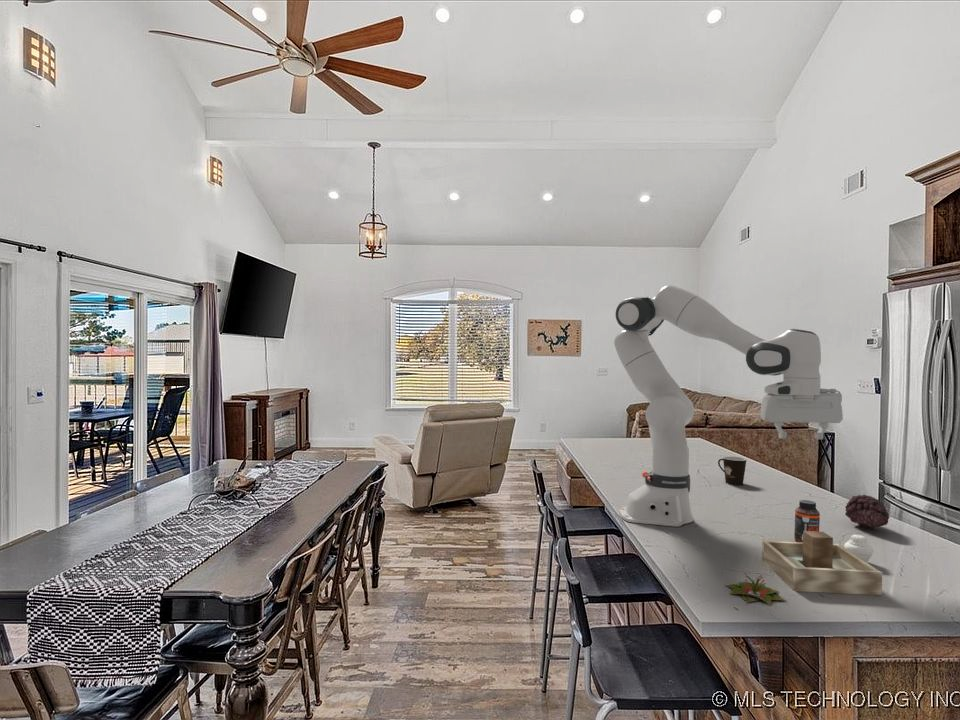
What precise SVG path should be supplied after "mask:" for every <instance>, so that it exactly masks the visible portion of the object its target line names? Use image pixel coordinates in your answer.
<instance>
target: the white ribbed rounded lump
mask: <svg viewBox="0 0 960 720" xmlns="http://www.w3.org/2000/svg"><path fill="white" fill-rule="evenodd" d="M843 548H845V549H846V550H848V551H850V552H851V553H853V554H854V555H856V556H857V557H859V558H860V559H862V560H864V561H865V562H867V563H868V562H869V560H870V559H871V558H872V556H873V554H874V551H875V550H874V548H873V547H872V545H870V543H869V542H868V538H866V537H865V536H864V535H861V534H852V535H851V536H850V538H849V540H848V541H847V542H845V543H844V545H843Z"/></svg>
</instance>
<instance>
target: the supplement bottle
mask: <svg viewBox="0 0 960 720" xmlns="http://www.w3.org/2000/svg"><path fill="white" fill-rule="evenodd" d="M798 503H799V504H798V505H799V506H798V507H796V508H795V510H794V511H795V513H794V515H795V516H794V531H793V532H794V535H793V536H794V540H795V542H803V531H817V532H820V517H821V516H820V515H821V514H820V511H818V509H817V503H816V502H815V501H813V500H809V499H807V500H806V499H801V500H799V502H798Z"/></svg>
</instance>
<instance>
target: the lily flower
mask: <svg viewBox="0 0 960 720" xmlns="http://www.w3.org/2000/svg"><path fill="white" fill-rule="evenodd" d="M748 573H749V574H751V572H750V571H748ZM743 574H744V576H745V577H746V578H748V579H745V580H744V581H738V584H737V583H736V584H735V583H733V584H732V583H731V584H729V583H728V584H725V586H726V587H728V588H730V589H732V590H731V592H730V593H729V595H734V594H736V595H737V594H738V595H739V594H740V595H741V597H742V598H743V600H744V601H745V602H746V603H751V602H755V601H760V600H762V601H763V602H764V603H766V604H768V605H770V606H772V600H773V601H774V600H775V601H786V602H787V600H785V598H783V597H781V596H780V595H779V594H777V593H780V591H779V590H776V589H773V588H771V587H768V586H766V584H767V583H765V579H764V580H762V579H763V578H764V577H763V576H762V574H760V575H759V577H757V578H755V580H754V578H753V576H752V575H751V577H750V576H749V575H748V574H747V573H745V572H743ZM755 575H758V573H756V574H755ZM760 580H762V581H761V582H760ZM750 581H751V582H750ZM759 582H760V583H759ZM750 592H752V593H753V594H751V593H750ZM775 593H776V594H775ZM754 594H755V595H754ZM757 594H759V595H757ZM749 596H752V597H753V598H749Z"/></svg>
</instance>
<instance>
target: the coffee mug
mask: <svg viewBox="0 0 960 720" xmlns="http://www.w3.org/2000/svg"><path fill="white" fill-rule="evenodd" d="M721 461H722V463H723V467H722V466H721V464H720V462H721ZM717 464H718V466H719V468H720V470H721V471H722V472H723V473H724V479H725V481H724V482H725V484H727V483H728V485H731V484H733V485H732V486H742V484H744V479H745V472H746V465H747V458H745V457H740V456H724V457H722V458H720V459H718V461H717Z"/></svg>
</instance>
